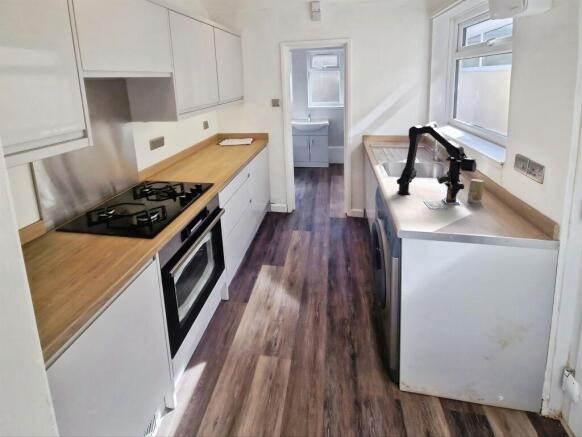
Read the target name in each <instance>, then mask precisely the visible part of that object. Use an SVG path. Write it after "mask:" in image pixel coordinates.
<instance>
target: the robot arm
mask: <svg viewBox="0 0 582 437" xmlns="http://www.w3.org/2000/svg"><path fill="white" fill-rule="evenodd" d="M424 134H429V135H430V137H432V138H434V140H435V141H437V142H438V143H439V144H440V145H441V146H443V148H444V149H445V152H446V153H447V154H448V155H449V156H448V157H447V158H446V159H445V162H446V161H447V162H448V163H449V165H448V170H447V171H446V173H444V174H440V175H438V176H436V180H437V183H438V184H439V185H441V184H445V186H446V189H451V199H454V198H455V196H456V197H457V194H458V193H459V192H460V190H465V184H464V183H463V182H461V179H460V175H462V172H470V173H475V171H476V170H477V166H478V164H477V162H476V160H477V159H475V158H468V156H467V154H466V153H465V149H464V147H463V146H462V145H461V144H458V143H457V142H454V141H452V140H450V139H449V138H448V137H447V136H446V135H445V134H444V133H442V131H441V130H439V129H438V128H437V127H436V126H435V125H434V124H433V125H432V124H431V125H426V126H422V125H421V124H420V125H419V124H418V125H414V126H411V127H410V128H409V129H408V139H409V146H408V151H407V157H406V163H405V167H404V168H403V170H402V172H401V174H400V177H399V178H398V179H396V183H397V185H398V190H397V191H396V192H397V194H398V195H406V196H407V195H409V196H410V195H411V193H410V184H411V183H412V181H413V180H414V179H415V178H416V177H417V172H418V170H417V169H416V168H415V163H416V158H417V151H418V147H419V142H420V141H421V139H422V136H423V135H424ZM461 171H462V172H461Z"/></svg>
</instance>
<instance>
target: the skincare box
mask: <svg viewBox="0 0 582 437" xmlns="http://www.w3.org/2000/svg"><path fill="white" fill-rule="evenodd" d="M484 187H485V180H483V179H477V178H472V179H470V182H469V187H468V194H467V202H470V203H474V204H480V203H482V198H483V192H484V189H485V188H484ZM479 202H480V203H479Z"/></svg>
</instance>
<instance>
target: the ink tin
mask: <svg viewBox="0 0 582 437" xmlns="http://www.w3.org/2000/svg"><path fill="white" fill-rule="evenodd" d="M441 201H442V203H444V204H445V206H446V205H447V206H451V205H452V206H457V205H458V206H459V205H461V202H460V201H459V200H458V199H456V201H448V200H447V199H446V197H442V198H441Z"/></svg>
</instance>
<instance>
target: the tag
mask: <svg viewBox="0 0 582 437" xmlns="http://www.w3.org/2000/svg"><path fill="white" fill-rule="evenodd" d="M423 203H424V205H426V207H427V208H428V209H429V210H448V207H446V205H444V204H443V202H441V201H423Z"/></svg>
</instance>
